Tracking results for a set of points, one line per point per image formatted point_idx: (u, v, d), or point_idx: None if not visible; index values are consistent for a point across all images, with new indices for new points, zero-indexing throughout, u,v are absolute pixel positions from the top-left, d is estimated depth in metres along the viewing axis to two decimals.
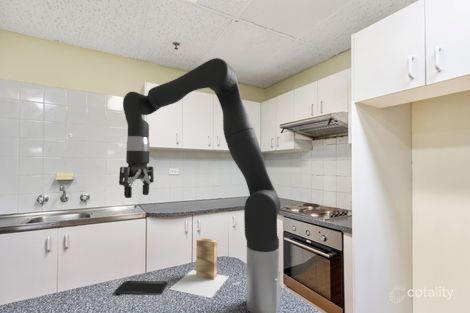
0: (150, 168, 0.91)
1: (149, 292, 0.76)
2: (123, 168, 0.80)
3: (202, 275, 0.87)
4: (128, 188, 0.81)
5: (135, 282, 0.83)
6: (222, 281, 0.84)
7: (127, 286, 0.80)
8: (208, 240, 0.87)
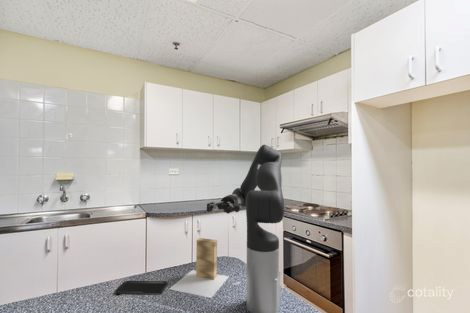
0: None
1: (149, 292, 0.76)
2: None
3: (202, 275, 0.87)
4: (209, 206, 1.03)
5: (135, 282, 0.83)
6: (222, 281, 0.84)
7: (127, 286, 0.80)
8: (208, 240, 0.87)
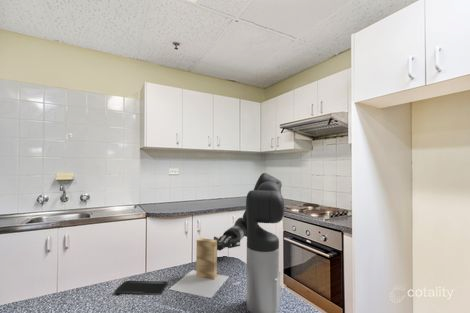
0: None
1: (149, 292, 0.76)
2: None
3: (202, 275, 0.87)
4: (219, 243, 1.01)
5: (135, 282, 0.83)
6: (222, 281, 0.84)
7: (127, 286, 0.80)
8: (208, 240, 0.87)
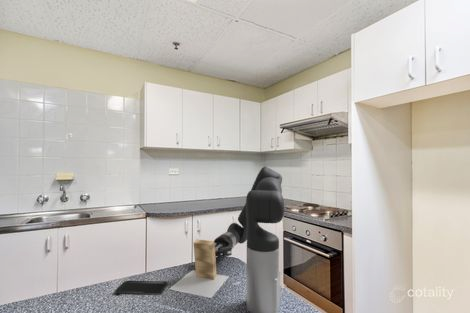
0: None
1: (149, 292, 0.76)
2: None
3: (202, 275, 0.87)
4: None
5: (135, 282, 0.83)
6: (222, 281, 0.84)
7: (127, 286, 0.80)
8: (205, 242, 0.85)
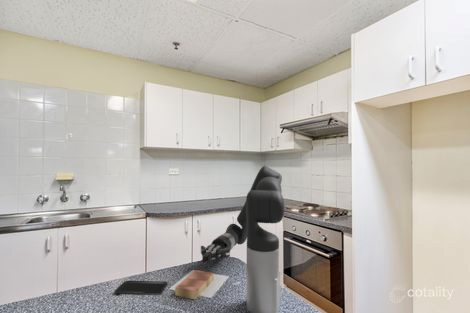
0: None
1: (149, 292, 0.76)
2: None
3: None
4: (206, 254, 0.90)
5: (135, 282, 0.83)
6: (222, 281, 0.84)
7: (127, 286, 0.80)
8: (187, 294, 0.74)
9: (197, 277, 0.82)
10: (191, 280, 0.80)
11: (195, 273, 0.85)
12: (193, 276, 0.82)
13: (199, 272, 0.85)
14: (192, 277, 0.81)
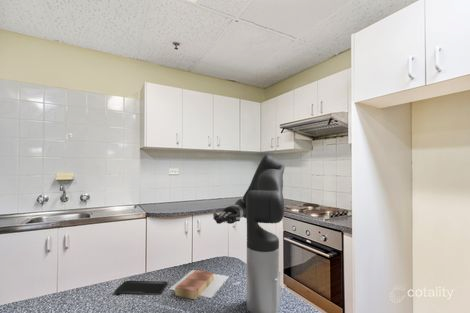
0: None
1: (149, 292, 0.76)
2: (213, 215, 1.08)
3: None
4: None
5: (135, 282, 0.83)
6: (222, 281, 0.84)
7: (127, 286, 0.80)
8: (187, 294, 0.74)
9: (197, 277, 0.82)
10: (191, 280, 0.80)
11: (195, 273, 0.85)
12: (193, 276, 0.82)
13: (199, 272, 0.85)
14: (192, 277, 0.81)
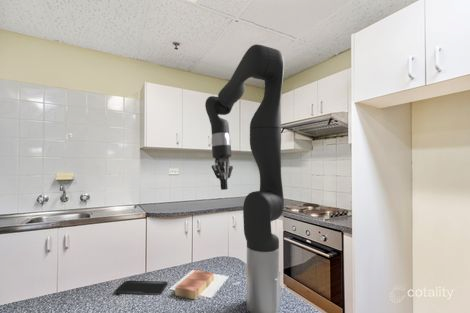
0: (230, 166, 1.00)
1: (149, 292, 0.76)
2: (215, 167, 0.90)
3: None
4: (223, 181, 0.94)
5: (135, 282, 0.83)
6: (222, 281, 0.84)
7: (127, 286, 0.80)
8: (187, 294, 0.74)
9: (197, 277, 0.82)
10: (191, 280, 0.80)
11: (195, 273, 0.85)
12: (193, 276, 0.82)
13: (199, 272, 0.85)
14: (192, 277, 0.81)
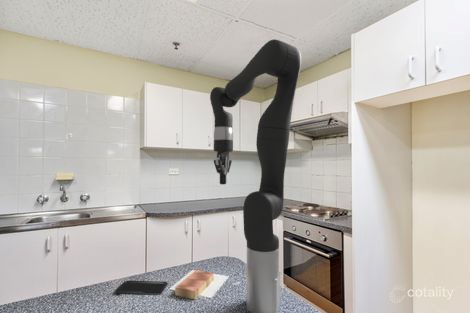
0: (229, 161, 0.99)
1: (149, 292, 0.76)
2: (217, 162, 0.89)
3: None
4: (223, 176, 0.93)
5: (135, 282, 0.83)
6: (222, 281, 0.84)
7: (127, 286, 0.80)
8: (187, 294, 0.74)
9: (197, 277, 0.82)
10: (191, 280, 0.80)
11: (195, 273, 0.85)
12: (193, 276, 0.82)
13: (199, 272, 0.85)
14: (192, 277, 0.81)
